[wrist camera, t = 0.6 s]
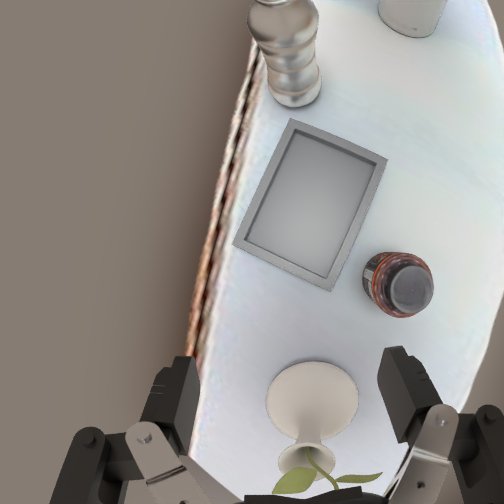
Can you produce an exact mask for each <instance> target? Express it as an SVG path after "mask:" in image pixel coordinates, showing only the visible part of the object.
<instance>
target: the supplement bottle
mask: <svg viewBox="0 0 504 504" xmlns="http://www.w3.org/2000/svg"><path fill="white" fill-rule="evenodd" d="M363 286H364V289H365V291H366V293H367V294H368V296H369V297H370V298H371V299H372V300H373V301H374V302H375V303H376V304H377V305H378V306H379V307H380V308H381V309H382V310H383V311H384V312H385V313H387V314H389V315H391V316H393V317H398V318H405V317H410V316H413V315H415V314H417V313H418V312H420V311H421V310H423V309H424V308H425V307H426V306H427V305H428V304H429V302H430V301H431V298H432V296H433V290H434V286H433V279H432V274H431V272H430V269H429V267H428V266H427V265H426V263H425V262H424V261H423V260H422V259H420V258H419V257H417V256H415V255H413V254H408V253H397V252H384V253H380V254H378V255H376V256H375V257H373V258H372V259H371V260H370V261H369V262H368V263H367V265H366V267H365V269H364V272H363Z"/></svg>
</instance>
